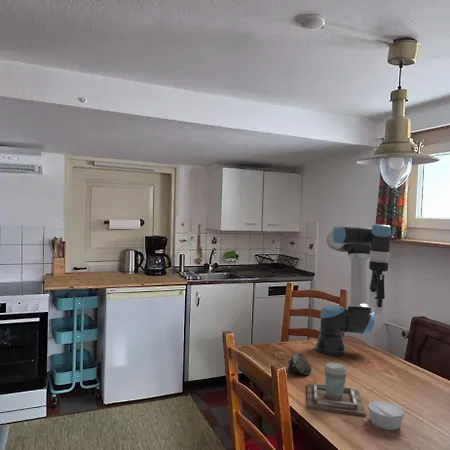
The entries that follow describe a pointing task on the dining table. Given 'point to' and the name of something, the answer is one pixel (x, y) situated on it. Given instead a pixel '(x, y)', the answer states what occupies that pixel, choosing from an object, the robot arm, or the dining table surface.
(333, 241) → the robot arm
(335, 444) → the dining table surface
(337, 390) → the coffee cup
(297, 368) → the fossil
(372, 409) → the ramekin
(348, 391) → the locating board
